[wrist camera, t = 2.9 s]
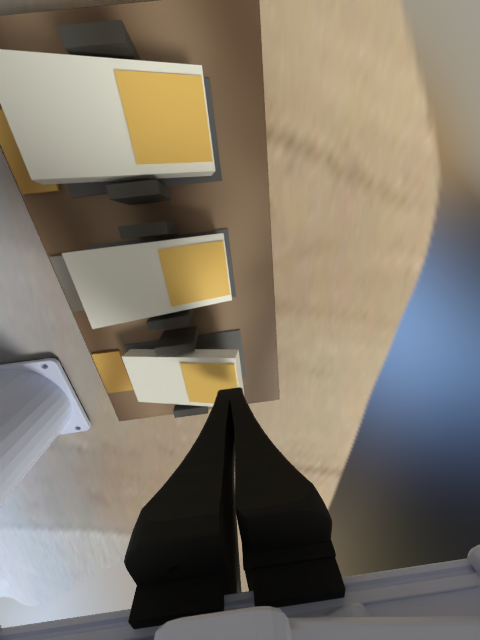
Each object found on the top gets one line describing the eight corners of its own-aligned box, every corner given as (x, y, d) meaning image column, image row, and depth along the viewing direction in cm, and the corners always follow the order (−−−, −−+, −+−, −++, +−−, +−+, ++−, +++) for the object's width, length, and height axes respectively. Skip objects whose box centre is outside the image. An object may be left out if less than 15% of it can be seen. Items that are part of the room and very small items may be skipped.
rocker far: (145, 392, 17) (137, 402, 16) (130, 349, 16) (120, 357, 15) (244, 397, 16) (241, 409, 15) (238, 349, 14) (234, 359, 13)
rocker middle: (97, 322, 13) (92, 329, 12) (69, 251, 11) (60, 253, 10) (227, 296, 15) (232, 300, 14) (219, 233, 13) (224, 233, 12)
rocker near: (42, 184, 10) (30, 179, 9) (-4, 66, 9) (-25, 45, 8) (211, 175, 12) (215, 170, 11) (198, 79, 11) (202, 63, 10)
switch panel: (128, 404, 21) (104, 449, 17) (-10, 54, 12) (-145, -47, 7) (274, 384, 21) (287, 423, 17) (253, 27, 12) (269, -84, 8)
